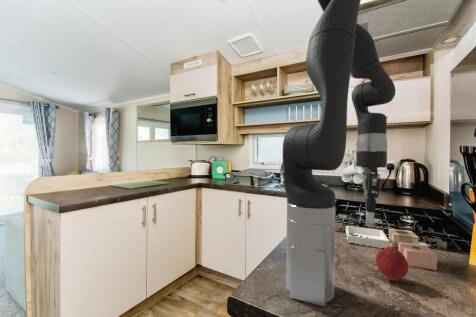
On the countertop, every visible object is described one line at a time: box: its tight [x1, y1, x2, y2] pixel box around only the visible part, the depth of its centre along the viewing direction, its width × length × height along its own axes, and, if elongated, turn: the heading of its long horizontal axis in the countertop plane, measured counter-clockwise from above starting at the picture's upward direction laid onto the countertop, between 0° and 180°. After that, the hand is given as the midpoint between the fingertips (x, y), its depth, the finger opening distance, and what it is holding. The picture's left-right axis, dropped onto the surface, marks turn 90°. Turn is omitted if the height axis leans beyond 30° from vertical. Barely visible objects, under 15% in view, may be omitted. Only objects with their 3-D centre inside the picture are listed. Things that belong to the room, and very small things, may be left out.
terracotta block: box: [397, 242, 438, 271], centre depth 56 cm, size 6×6×4 cm
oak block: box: [388, 228, 419, 247], centre depth 67 cm, size 6×6×4 cm
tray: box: [345, 225, 390, 249], centre depth 71 cm, size 11×11×2 cm
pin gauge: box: [365, 191, 375, 228], centre depth 62 cm, size 2×2×10 cm
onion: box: [375, 243, 409, 282], centre depth 47 cm, size 6×6×8 cm
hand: (370, 211), depth 61 cm, fingers closed on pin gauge, 2 cm apart
